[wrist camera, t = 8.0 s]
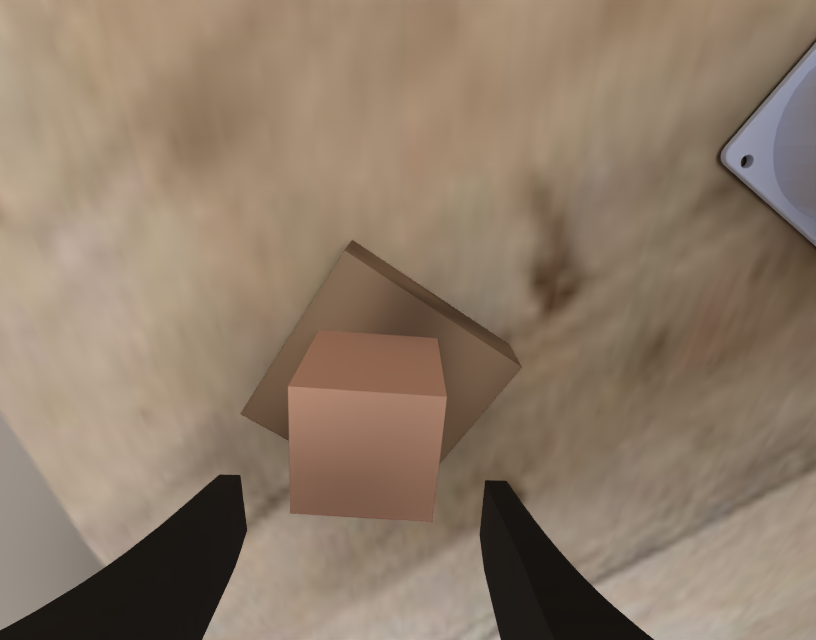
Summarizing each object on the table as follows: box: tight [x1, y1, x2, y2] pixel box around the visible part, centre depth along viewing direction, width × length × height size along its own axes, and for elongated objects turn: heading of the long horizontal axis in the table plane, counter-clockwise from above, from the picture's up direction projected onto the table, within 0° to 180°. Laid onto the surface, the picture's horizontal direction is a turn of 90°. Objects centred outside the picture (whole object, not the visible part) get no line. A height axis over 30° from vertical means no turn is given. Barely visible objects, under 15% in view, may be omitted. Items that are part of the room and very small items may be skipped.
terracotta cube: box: [288, 330, 447, 522], centre depth 17 cm, size 5×5×5 cm
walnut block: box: [241, 240, 522, 464], centre depth 21 cm, size 9×9×3 cm
